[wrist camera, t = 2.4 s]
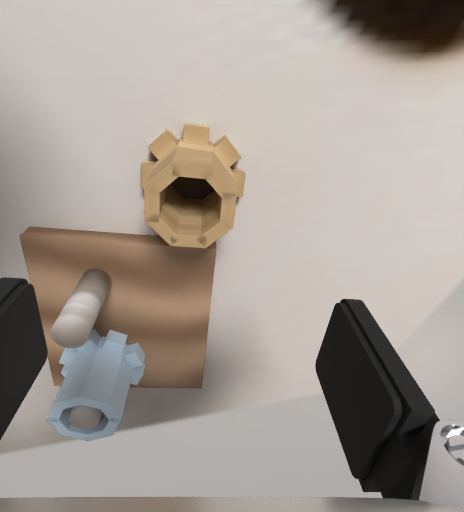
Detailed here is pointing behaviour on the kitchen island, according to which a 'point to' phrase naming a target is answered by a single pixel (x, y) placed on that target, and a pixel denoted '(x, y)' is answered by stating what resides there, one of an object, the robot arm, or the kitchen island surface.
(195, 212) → the oak gear
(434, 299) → the kitchen island surface
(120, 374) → the gear
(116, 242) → the board
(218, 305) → the kitchen island surface
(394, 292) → the kitchen island surface
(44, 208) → the kitchen island surface
